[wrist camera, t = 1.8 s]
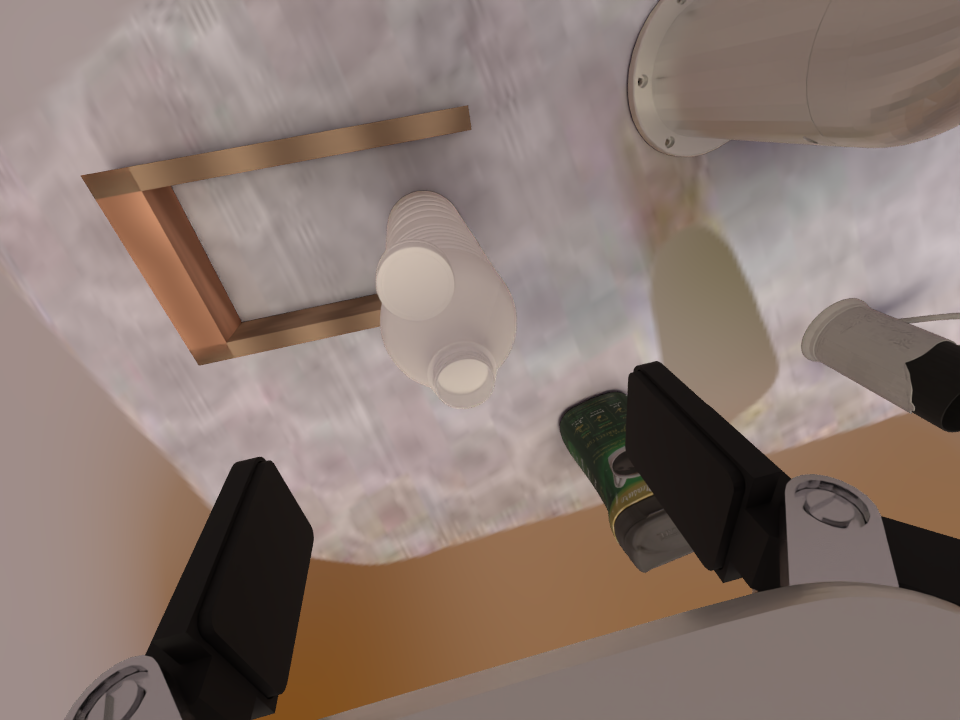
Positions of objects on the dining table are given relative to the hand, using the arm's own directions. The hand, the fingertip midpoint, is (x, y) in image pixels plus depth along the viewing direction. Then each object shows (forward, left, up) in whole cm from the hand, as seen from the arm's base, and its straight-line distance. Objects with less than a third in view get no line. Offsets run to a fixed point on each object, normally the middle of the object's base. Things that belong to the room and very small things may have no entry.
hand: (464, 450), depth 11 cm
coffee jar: (-16, +28, -30) cm, 44 cm away
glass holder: (-50, +22, -30) cm, 62 cm away
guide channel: (+8, 0, -29) cm, 30 cm away
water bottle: (0, 0, -30) cm, 30 cm away
